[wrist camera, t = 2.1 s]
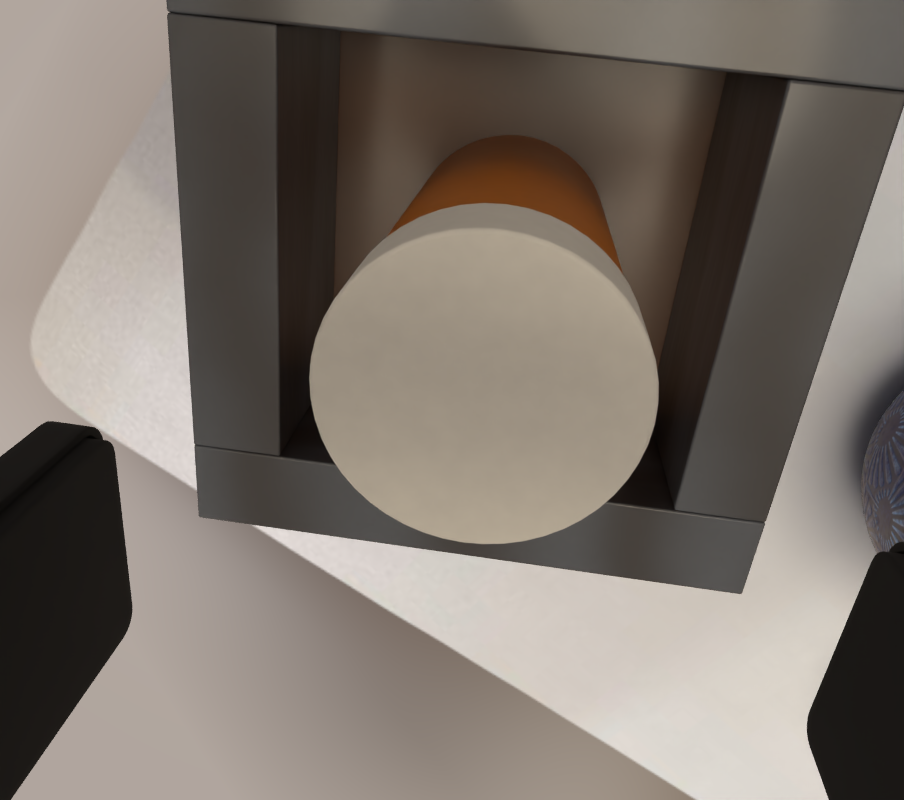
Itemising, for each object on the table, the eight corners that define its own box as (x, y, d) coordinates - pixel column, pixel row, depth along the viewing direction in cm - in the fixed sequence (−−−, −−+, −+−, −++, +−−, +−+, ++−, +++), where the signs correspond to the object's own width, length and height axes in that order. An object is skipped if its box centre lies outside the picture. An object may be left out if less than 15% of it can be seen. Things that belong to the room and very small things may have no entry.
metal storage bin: (357, 288, 43) (197, 517, 23) (370, -46, 36) (157, -124, 16) (649, 324, 42) (742, 595, 22) (723, -10, 35) (956, -46, 15)
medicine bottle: (404, 314, 26) (306, 521, 15) (417, 120, 23) (309, 206, 13) (589, 338, 26) (621, 566, 15) (625, 143, 23) (697, 252, 12)
